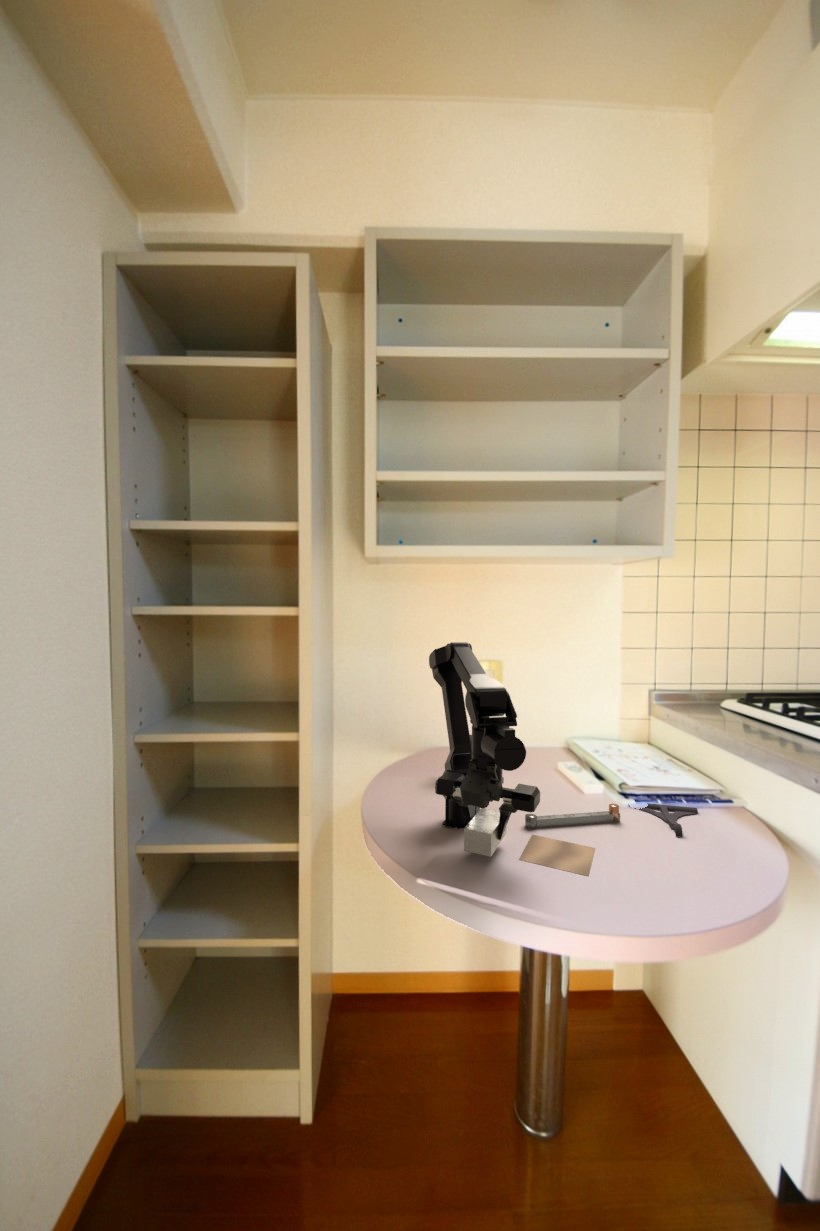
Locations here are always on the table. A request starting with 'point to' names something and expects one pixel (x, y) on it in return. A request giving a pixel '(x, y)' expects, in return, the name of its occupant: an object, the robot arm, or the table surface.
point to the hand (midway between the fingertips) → (486, 836)
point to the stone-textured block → (483, 832)
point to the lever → (573, 818)
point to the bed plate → (558, 854)
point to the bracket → (670, 814)
